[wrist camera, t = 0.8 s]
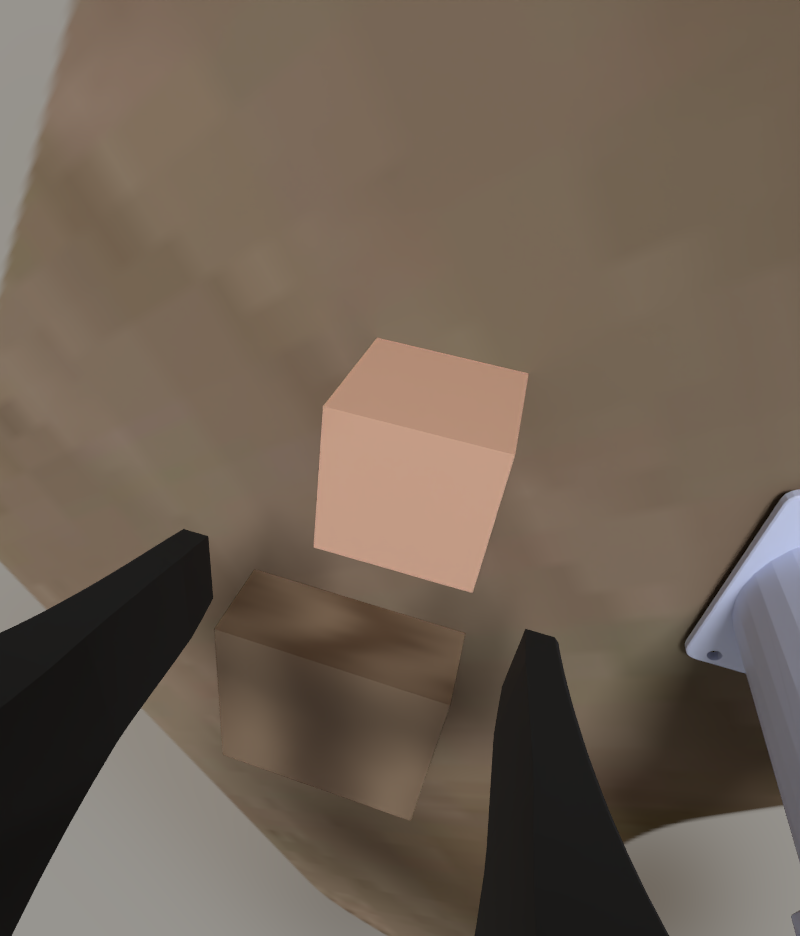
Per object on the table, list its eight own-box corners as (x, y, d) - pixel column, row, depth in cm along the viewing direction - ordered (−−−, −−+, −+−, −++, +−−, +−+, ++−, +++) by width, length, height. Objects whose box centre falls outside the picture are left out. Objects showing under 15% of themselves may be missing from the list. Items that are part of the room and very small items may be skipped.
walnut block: (466, 627, 26) (450, 705, 22) (428, 745, 31) (410, 821, 28) (258, 563, 27) (214, 629, 24) (258, 688, 33) (222, 754, 29)
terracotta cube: (528, 372, 18) (514, 454, 14) (492, 495, 21) (472, 593, 17) (377, 337, 19) (323, 406, 15) (362, 461, 22) (313, 547, 18)
